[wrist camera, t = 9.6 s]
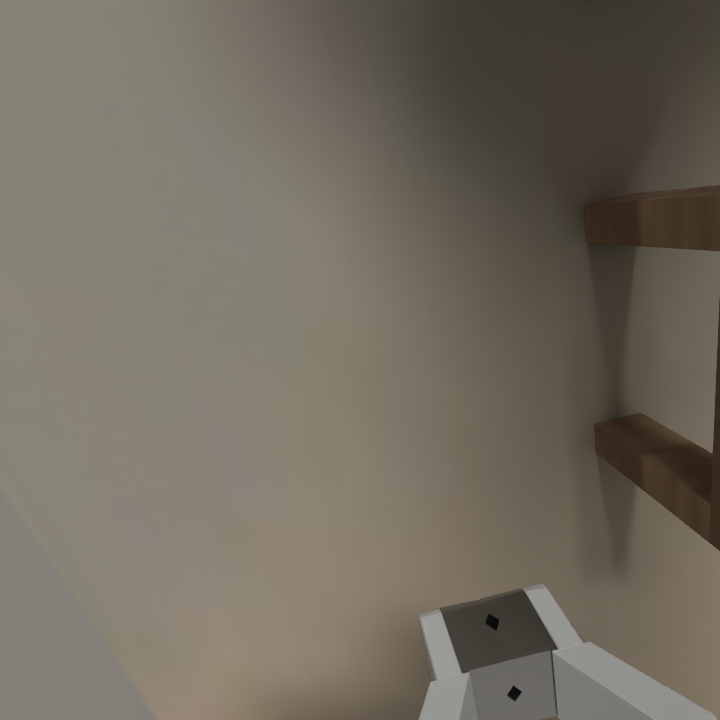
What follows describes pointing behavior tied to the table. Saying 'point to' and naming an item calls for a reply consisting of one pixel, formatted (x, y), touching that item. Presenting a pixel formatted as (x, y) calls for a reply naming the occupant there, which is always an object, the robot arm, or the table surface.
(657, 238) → the bridge
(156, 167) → the table surface
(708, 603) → the table surface
